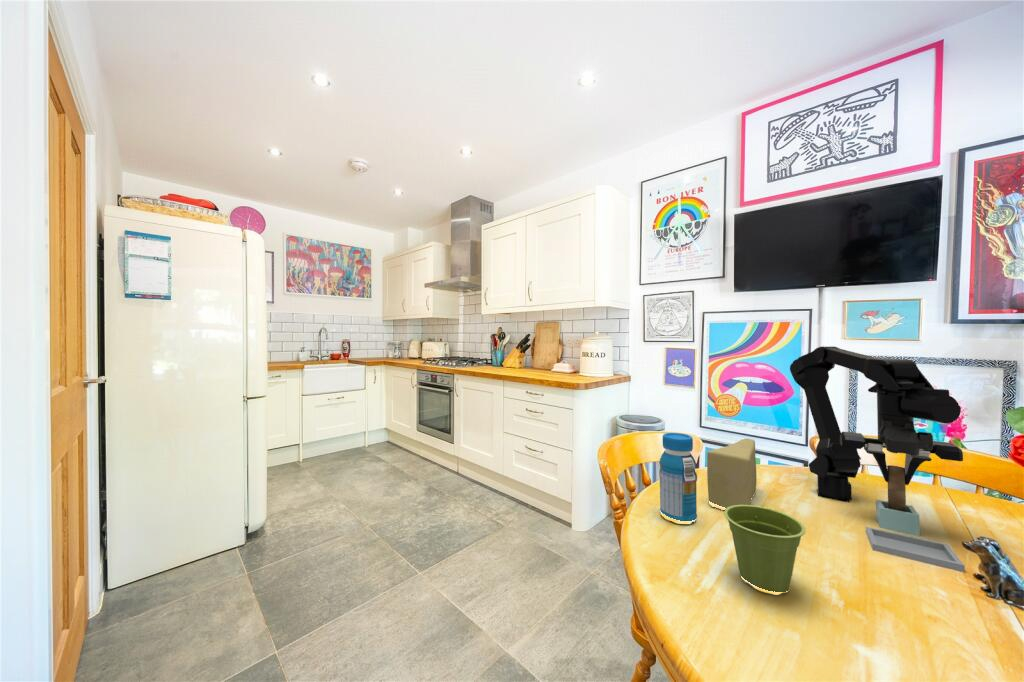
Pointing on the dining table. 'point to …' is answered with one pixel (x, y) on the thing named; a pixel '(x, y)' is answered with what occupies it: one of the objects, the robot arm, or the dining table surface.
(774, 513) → the plant pot
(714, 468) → the cheese
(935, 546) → the tray
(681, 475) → the beverage bottle
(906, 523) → the open box
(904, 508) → the dowel
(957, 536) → the dining table surface
